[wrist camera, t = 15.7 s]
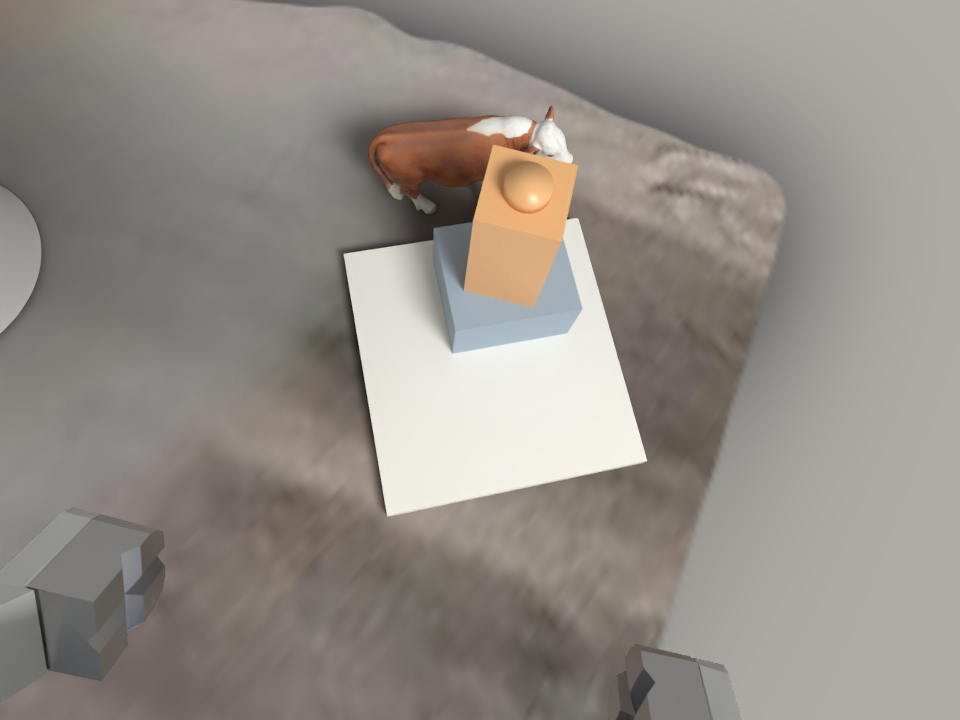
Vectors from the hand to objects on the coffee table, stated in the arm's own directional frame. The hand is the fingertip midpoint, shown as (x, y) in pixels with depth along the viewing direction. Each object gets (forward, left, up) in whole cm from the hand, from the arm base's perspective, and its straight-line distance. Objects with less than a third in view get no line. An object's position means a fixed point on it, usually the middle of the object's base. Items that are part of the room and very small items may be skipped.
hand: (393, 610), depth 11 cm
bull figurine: (+8, +25, -30) cm, 40 cm away
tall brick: (+9, +17, -24) cm, 30 cm away
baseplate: (+7, +12, -29) cm, 33 cm away
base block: (+9, +16, -28) cm, 34 cm away
